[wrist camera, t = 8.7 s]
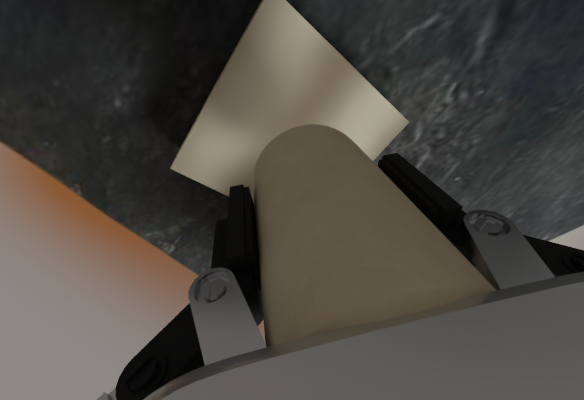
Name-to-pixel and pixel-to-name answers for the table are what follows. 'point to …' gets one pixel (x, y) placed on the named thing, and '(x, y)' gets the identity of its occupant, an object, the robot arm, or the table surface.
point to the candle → (344, 241)
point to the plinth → (280, 100)
